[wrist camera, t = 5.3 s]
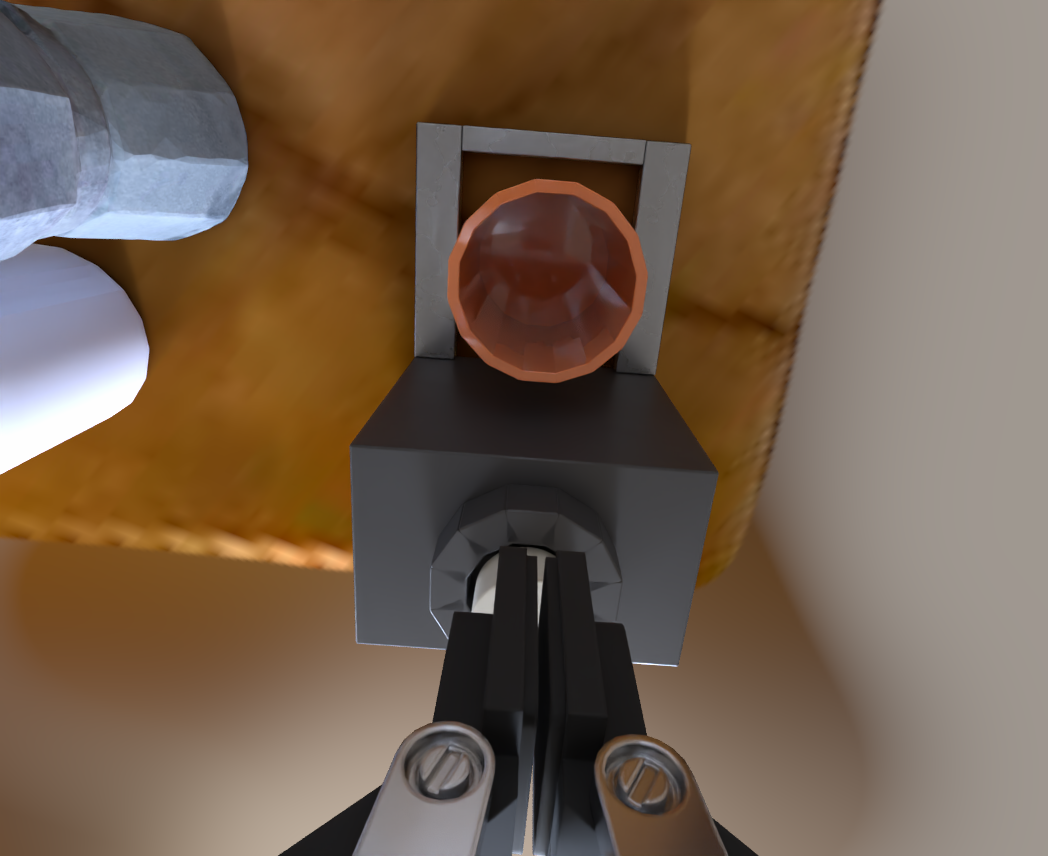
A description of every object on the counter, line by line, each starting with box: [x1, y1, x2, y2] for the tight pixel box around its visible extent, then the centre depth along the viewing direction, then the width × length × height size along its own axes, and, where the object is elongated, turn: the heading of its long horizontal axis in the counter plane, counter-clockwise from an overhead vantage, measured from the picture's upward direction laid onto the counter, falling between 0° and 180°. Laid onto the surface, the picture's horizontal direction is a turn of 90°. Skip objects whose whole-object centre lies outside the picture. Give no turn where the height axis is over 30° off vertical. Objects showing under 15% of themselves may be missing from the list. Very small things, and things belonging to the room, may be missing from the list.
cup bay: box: [414, 122, 691, 375], centre depth 29 cm, size 10×12×1 cm
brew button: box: [472, 547, 556, 623], centre depth 19 cm, size 3×3×2 cm
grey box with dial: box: [350, 356, 718, 666], centre depth 26 cm, size 8×12×14 cm, turn 86°
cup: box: [447, 179, 648, 383], centre depth 25 cm, size 7×7×9 cm
